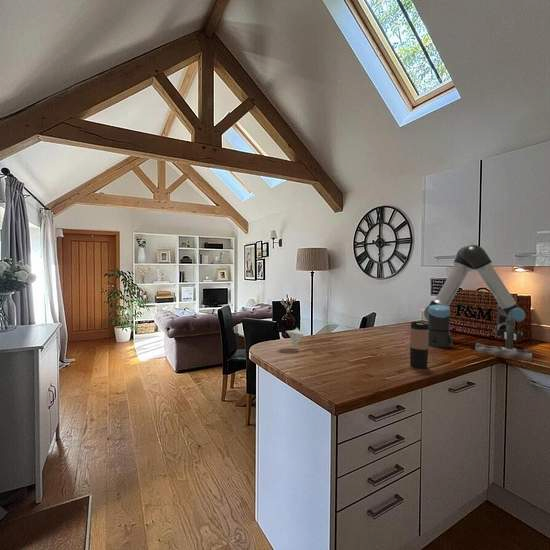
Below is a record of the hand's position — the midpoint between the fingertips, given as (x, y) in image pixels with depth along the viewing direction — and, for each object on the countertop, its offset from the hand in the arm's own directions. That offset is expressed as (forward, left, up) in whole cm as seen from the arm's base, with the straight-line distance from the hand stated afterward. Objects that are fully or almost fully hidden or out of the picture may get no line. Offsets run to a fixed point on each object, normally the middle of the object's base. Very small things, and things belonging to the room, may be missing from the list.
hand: (510, 337), depth 160 cm
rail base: (-6, 0, -11) cm, 13 cm away
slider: (-5, +3, -9) cm, 11 cm away
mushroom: (-4, -111, -11) cm, 112 cm away
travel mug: (+19, -54, -11) cm, 58 cm away
